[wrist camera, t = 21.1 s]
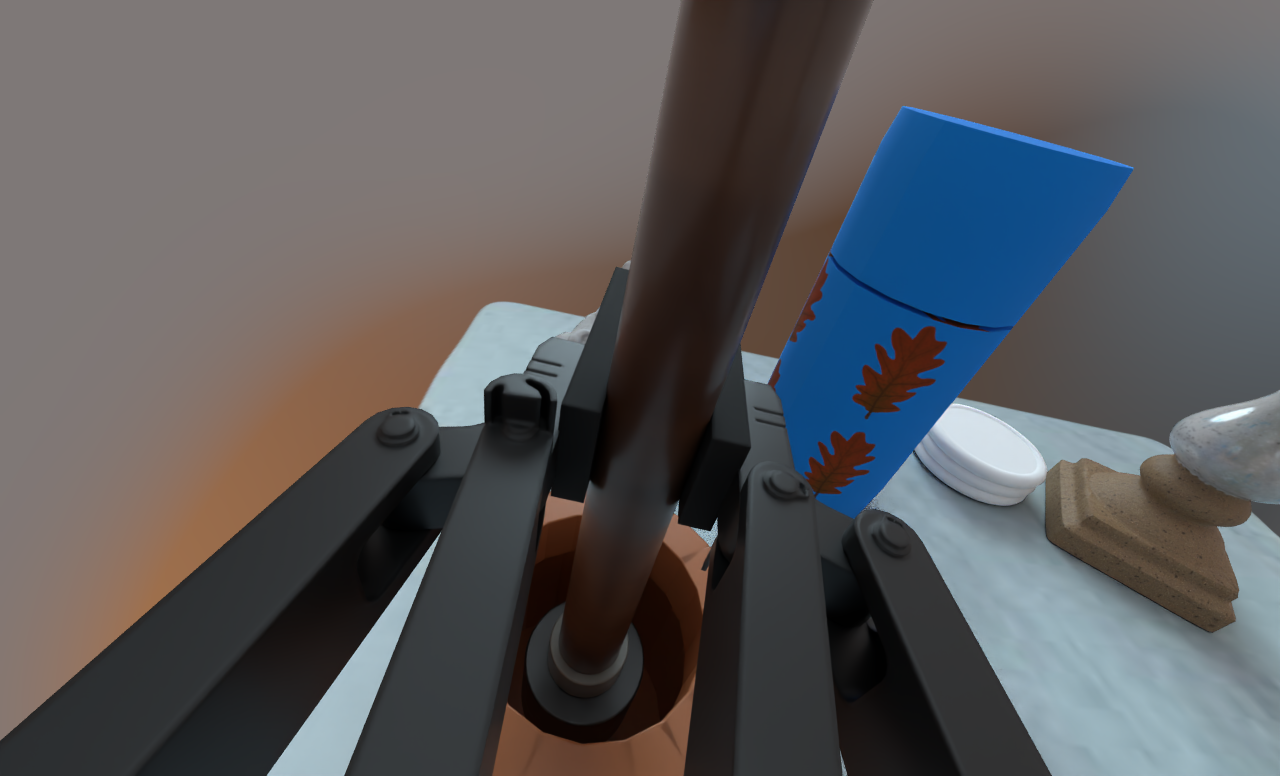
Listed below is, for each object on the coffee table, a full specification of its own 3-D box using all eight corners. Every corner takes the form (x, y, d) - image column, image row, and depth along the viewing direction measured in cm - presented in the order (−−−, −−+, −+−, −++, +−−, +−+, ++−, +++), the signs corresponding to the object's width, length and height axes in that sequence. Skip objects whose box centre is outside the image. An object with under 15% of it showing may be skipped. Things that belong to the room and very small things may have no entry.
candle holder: (1045, 469, 45) (1311, 228, 30) (1184, 541, 41) (1570, 301, 26) (1045, 539, 37) (1399, 263, 23) (1215, 636, 33) (1785, 373, 19)
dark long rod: (651, 695, 19) (1142, -176, 5) (564, 785, 17) (1105, -656, 2) (585, 611, 21) (782, -165, 7) (499, 679, 19) (518, -381, 4)
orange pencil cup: (708, 736, 22) (801, 634, 16) (532, 958, 16) (562, 946, 9) (583, 580, 27) (613, 451, 20) (410, 706, 21) (372, 579, 14)
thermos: (731, 497, 34) (924, 116, 19) (742, 410, 43) (882, 98, 27) (877, 546, 33) (1201, 188, 18) (859, 448, 42) (1069, 147, 27)
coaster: (955, 422, 48) (977, 396, 46) (1045, 498, 41) (1075, 472, 39) (886, 432, 45) (906, 404, 42) (973, 518, 38) (1002, 490, 35)
